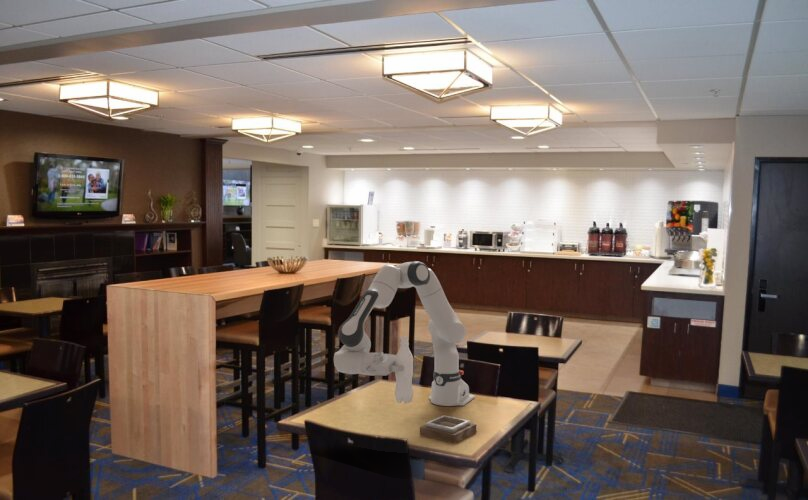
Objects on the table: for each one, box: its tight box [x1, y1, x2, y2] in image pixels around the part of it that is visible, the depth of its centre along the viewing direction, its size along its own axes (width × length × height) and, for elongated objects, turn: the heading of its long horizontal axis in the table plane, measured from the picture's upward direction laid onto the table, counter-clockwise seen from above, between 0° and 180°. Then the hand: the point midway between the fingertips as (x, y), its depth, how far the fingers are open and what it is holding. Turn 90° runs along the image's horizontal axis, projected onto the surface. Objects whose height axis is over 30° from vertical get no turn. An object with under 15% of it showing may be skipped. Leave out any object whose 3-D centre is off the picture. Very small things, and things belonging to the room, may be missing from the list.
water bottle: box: [394, 337, 414, 404], centre depth 252 cm, size 7×7×25 cm
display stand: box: [419, 414, 477, 444], centre depth 253 cm, size 16×16×4 cm
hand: (406, 366), depth 252 cm, fingers closed on water bottle, 7 cm apart
